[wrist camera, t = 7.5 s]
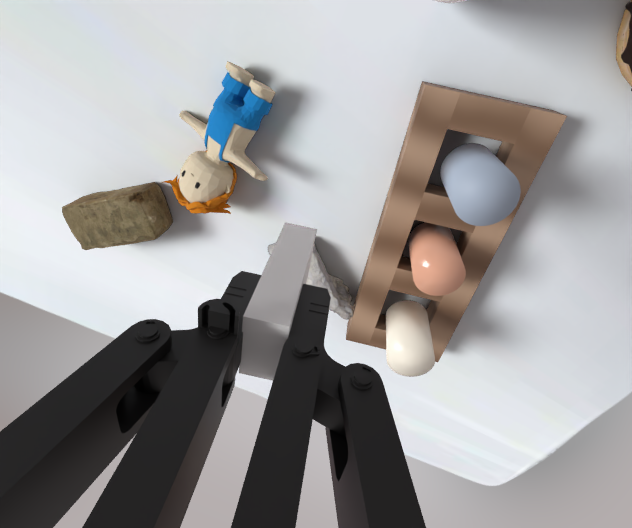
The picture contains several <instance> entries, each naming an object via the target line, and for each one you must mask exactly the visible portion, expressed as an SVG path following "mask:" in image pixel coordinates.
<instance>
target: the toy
mask: <svg viewBox="0 0 632 528" xmlns="http://www.w3.org/2000/svg"><path fill="white" fill-rule="evenodd" d="M226 69H227V70H228V71H229V73H228V72H227V74H226V76H225V78H224V80H223V82H222V85H223V87H225V88H224V90H223V91H222V93H221V94H220V95H219V96H218V98H217V99H216V101H215V103H214V105H213V106H214V107H213V109H212V111H211V113H210V115H209V120H208V123H207V125H206V124H205V123H203V122H201V121H200V120H198V119H196V118H195V117H194V116H192V115H191V114H190V113H188V112H186V111H182V112H181V113H180V114H179V116H180V117H181V119H183V120H184V121H185V122H186V123H188V124H189V125H190V126H191V127H192V128H193V129H194V130H195V131H196V132H197V133H198V134H199V135H200V136H201V137H202V139H203V140H204V141H205V146H206V149H207V151H206V152H205V151H197V152H194V153H193V154H191V155H190V156H189V157H188V159H187V160H186V161H185V163H184V165H183V167H182V169H181V172H180V178H179V179H178V181H177V176H178V175H177V176H176V178H175V179H174V180H173V181H172V180H169V181H164V182H166V183H170V184H171V185H172V188H173V191H174V194H175V195H176V199H177V200H178V202H179V203H180V204H181V205H182V206H186V208H187V210H189V211H190V212H191V213H209V212H215V213H230V212H229V211H228V210H225V209H224V208H229V207H230V206H229V205H228V204H225V203H226V202H227V201H228V198H229V197H230V195H231V194H232V193H233V189H234V186H235V183H236V180H237V174H236V170H235V167H234V166H233V165H232V164H231V163H230V162H232V163H234V164H236V165H237V166H239V167H240V168H242V169H243V170H245V171H246V172H248V173H249V174H250V175H251V176H252V177H253V178H255V179H258V180H261V181H265V180H267V179H268V178H267V176H266V175H265V174H264V173H263V172H261V171H260V170H259V169H258V168H257V167H256V165H255V164H254V163H253V162H252V161H251V160H250V159H249V158H248V157H247V156H246V155H245V149H246V147H247V145H248V144H249V142H250V141H251V139H252V137H253V136H254V134H255V133H256V131H258V129H259V126H260V122H261V119H262V118H263V116H264V115H268V113H269V111H270V109H271V107H272V105H273V104H272V103H271V101H272V99H273V97H274V95H275V93H276V92H275V91H273V90H272V89H271V88H269V87H268V86H266V85H265V84H263V83H261V82H258V81H256V80H253V78H254V76H253V75H252V74H251V73H249V72H248V71H246V70H245V69H243V68H241V67H239V66H237V65H235V64H233V63H231V62H228V61H227V64H226ZM244 102H245V104H244ZM161 183H163V182H161ZM230 214H231V213H230Z"/></svg>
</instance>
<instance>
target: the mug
mask: <svg viewBox="0 0 632 528" xmlns="http://www.w3.org/2000/svg"><path fill="white" fill-rule="evenodd" d="M434 1H437V2H442V3H458V2H464V1H467V0H434Z"/></svg>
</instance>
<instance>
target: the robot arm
mask: <svg viewBox="0 0 632 528" xmlns="http://www.w3.org/2000/svg"><path fill="white" fill-rule="evenodd" d="M316 232H317V229H313V228H308V227H303V226H299V225H294V224H289V223H285V224H284V226H283V229H282V231H281V233H280V235H279V238H278V240H277V242H276V244H275V246H274V249H273V251H272V253H271V255H270V258H269V260H268V262H267V264H266V267H265V269H264V271H263V273H262V275H258V274H253V273H248V272H244V271H241V272H240V273H239V274H237V275H236V276H234V277H233V278H232V280H231V282H230V284H229V285H228V287H227V289H226V291H225V293H224V294H223V296H222V298H221V299H213V300H209V301H206V302H204V303H202V304H201V305H200V306H199V307H198V328H195V329H190V330H174V331H171V329H170V327H169V325H168V324H166V323H165V322H163V321H160V320H156V319H150V320H144V321H140V322H138V323H136V324H134V325H132V326H131V327H130V328H128V329H127V330H126V331H125V332H123V333H122V334H121V335H120V336H118V337H117V338H116V339H115V340H114V341H112V342H111V343H110V344H109V345H107V346H106V347H105V348H104V349H102V350H101V351H100V352H99V353H97V354H96V355H95V356H94V357H92V358H91V359H90V360H89V361H88V362H86V363H85V364H84V365H83V366H81V367H80V368H79V369H78V370H76V371H75V372H74V373H73V374H71V375H70V376H69V377H68V378H66V379H65V380H64V381H63V382H61V383H60V384H59V385H58V386H56V387H55V388H54V389H53V390H51V391H50V392H49V393H48V394H46V395H45V396H44V397H43V398H41V399H40V400H39V401H38V402H36V403H35V404H34V405H33V406H32V407H30V408H29V409H28V410H27V411H25V412H24V413H23V414H22V415H20V416H19V417H18V418H17V419H15V420H14V421H13V422H12V423H10V424H9V425H8V426H7V427H6V428H4V429H3V430H2V431H1V432H0V528H53V527H54V526H55V525H56V524H57V522H58V521H59V520H60V519H61V518H62V517H63V515H65V513H66V512H67V511H68V510H69V509H70V508H71V507H72V505H73V504H74V503H75V502H76V501H77V500H78V499H79V498H80V496H81V495H82V494H83V493H84V492H85V491H86V490H87V489H88V487H89V486H90V485H91V484H92V483H93V482H94V480H96V478H97V477H98V476H99V475H100V474H101V473H102V472H103V470H104V469H105V468H106V467H107V466H108V465H109V463H111V462H112V460H113V459H114V458H115V457H116V456H117V455H118V454H119V452H120V451H121V450H122V449H123V448H124V447H125V446H126V445H127V443H128V442H129V441H130V440H131V439H132V438H133V437H134V435H135V434H136V433H137V434H136V436H135V438H134V439H133V441H132V443H131V444H130V446H129V448H128V450H127V451H126V453H125V455H124V457H123V458H122V460H121V462H120V463H119V465H118V467H117V469H116V471H115V472H114V474H113V475H112V477H111V479H110V481H109V482H108V484H107V486H106V488H105V489H104V491H103V493H102V495H101V496H100V498H99V500H98V501H97V503H96V505H95V507H94V508H93V510H92V512H91V514H90V516H89V517H88V519H87V521H86V522H85V524H84V526H83V527H82V528H180V526H181V523H182V521H183V518H184V516H185V513H186V510H187V508H188V505H189V502H190V500H191V497H192V495H193V492H194V490H195V487H196V484H197V482H198V479H199V476H200V474H201V471H202V469H203V466H204V464H205V461H206V458H207V455H208V453H209V451H210V448H211V445H212V443H213V440H214V438H215V435H216V432H217V430H218V427H219V424H220V422H221V419H222V417H223V414H224V411H225V409H226V406H227V403H228V401H229V398H230V396H231V393H232V390H233V388H234V384H235V375H236V373H237V370H238V368H239V373H242V374H246V375H251V376H255V377H260V378H264V379H269V380H273V383H272V387H271V390H270V394H269V397H268V401H267V404H266V408H265V411H264V415H263V418H262V421H261V425H260V428H259V432H258V435H257V439H256V442H255V446H254V449H253V453H252V457H251V460H250V463H249V467H248V471H247V474H246V477H245V481H244V484H243V488H242V491H241V495H240V498H239V502H238V505H237V509H236V512H235V516H234V519H233V522H232V526H231V528H295V526H296V520H297V513H298V506H299V501H300V494H301V488H302V482H303V476H304V470H305V463H306V457H307V451H308V445H309V438H310V432H311V426H312V419H314V420H315V421H317V422H319V423H320V424H322V425H324V426H325V427H326V435H327V443H328V451H329V458H330V466H331V473H332V481H333V489H334V497H335V504H336V512H337V519H338V526H339V528H426V526H425V523H424V520H423V516H422V513H421V509H420V506H419V503H418V500H417V496H416V493H415V489H414V486H413V482H412V479H411V476H410V473H409V469H408V466H407V462H406V459H405V456H404V452H403V449H402V446H401V442H400V439H399V435H398V432H397V429H396V425H395V422H394V419H393V415H392V412H391V409H390V405H389V402H388V398H387V395H386V392H385V388H384V385H383V382H382V379H381V377H380V375H379V374H378V373H377V372H376V371H375V370H374V369H373V368H371V367H369V366H367V365H365V364H360V363H354V364H350V365H348V366H346V367H345V366H343V365H341V364H339V363H337V362H336V361H334V360H333V359H332V358H331V357H329V356H328V354H327V353H326V351H325V348H324V337H325V331H326V325H327V319H328V312H329V306H330V300H331V297H330V295H329V292H328V290H327V289H326V288H322V287H317V286H312V285H308V284H306V282H307V278H308V273H309V268H310V263H311V258H312V252H313V247H314V242H315V237H316Z"/></svg>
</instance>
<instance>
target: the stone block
mask: <svg viewBox="0 0 632 528" xmlns="http://www.w3.org/2000/svg"><path fill="white" fill-rule="evenodd" d="M62 213H63V216H64V218H65V220H66V222H67V224H68V226H69V228H70V229H71V232H72V233H73V234H74V236H75V237H76V239H77V240H78V241H79V242H80V244H81V246H82V249H85V250H89V249H92V248H106V247H111V246H119V245H126V244H133V243H138V242H143V241H149V240H155V239H157V238H158V237H160V236H161V235H162V234H163V233H164V232H165V231H166V230H167V229H168V228H169V227H170V226H171V224H172V223H173V220H172V216H171V214H170V211H169V208H168V205H167V202H166V199H165V197H164V195H163V192H162V191H161V189H160V187H159V186H158V184H156V183H155V182H152V183H147V184H143V185H138V186H132V187H127V188H122V189H119V190H112V191H107V192H97V193H93V194H90V195H87V196H83V197H81V198H79V199H77V200H75V201H74V202H72V203H70V204H68V205H66V206H63V207H62Z"/></svg>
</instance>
